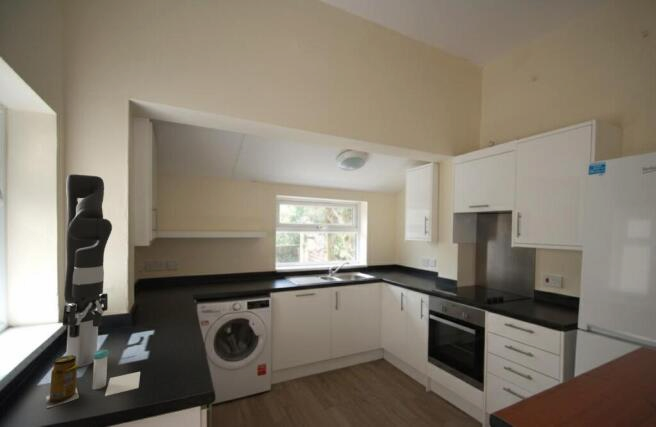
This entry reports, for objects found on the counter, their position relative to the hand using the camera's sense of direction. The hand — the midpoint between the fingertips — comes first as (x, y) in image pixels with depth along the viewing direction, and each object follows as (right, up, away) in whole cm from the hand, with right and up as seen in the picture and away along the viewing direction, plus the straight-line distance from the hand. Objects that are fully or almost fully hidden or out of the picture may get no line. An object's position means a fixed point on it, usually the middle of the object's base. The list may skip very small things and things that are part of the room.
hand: (86, 331), depth 88 cm
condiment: (-8, -22, 0) cm, 23 cm away
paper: (+6, -22, +9) cm, 24 cm away
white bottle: (-1, -22, +7) cm, 23 cm away
